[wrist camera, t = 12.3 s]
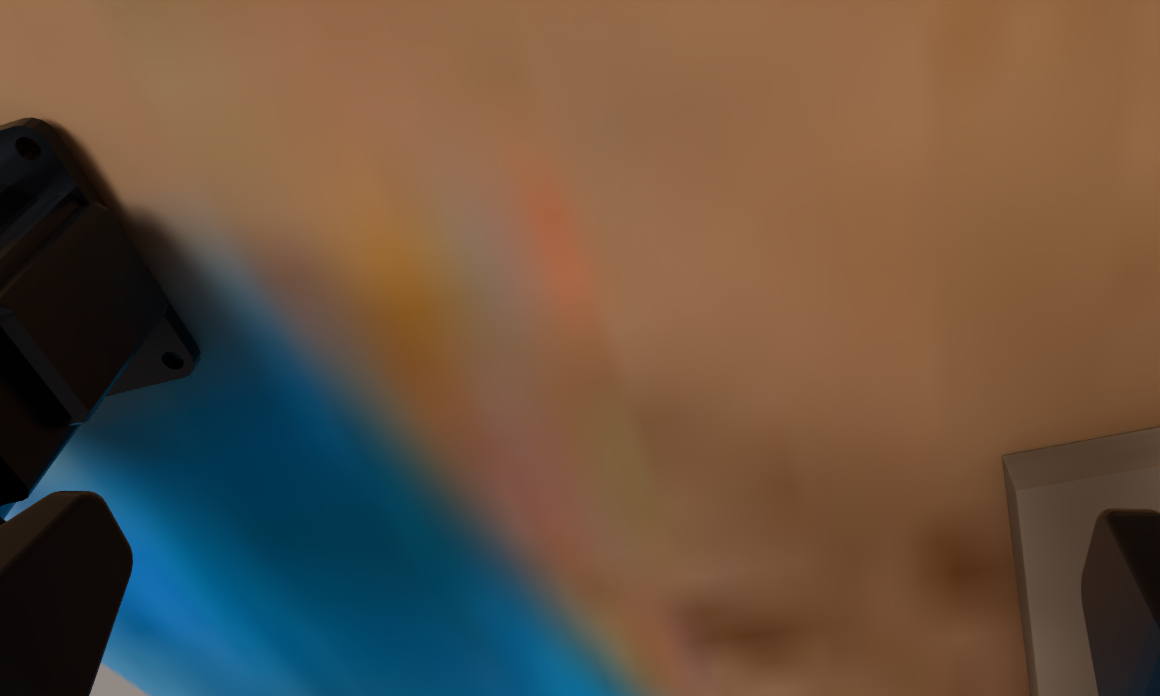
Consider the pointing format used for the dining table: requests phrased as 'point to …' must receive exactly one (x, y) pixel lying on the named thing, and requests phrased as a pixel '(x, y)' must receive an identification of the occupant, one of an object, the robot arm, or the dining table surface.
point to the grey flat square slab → (1069, 542)
